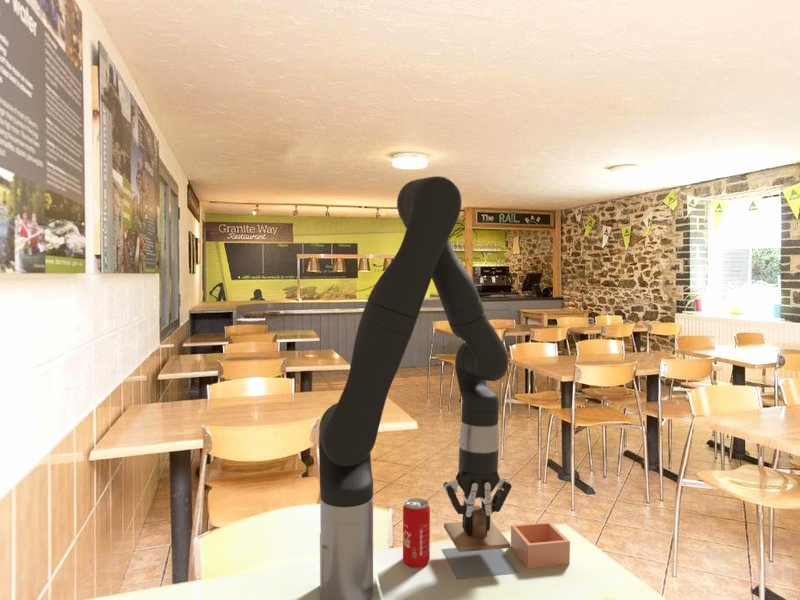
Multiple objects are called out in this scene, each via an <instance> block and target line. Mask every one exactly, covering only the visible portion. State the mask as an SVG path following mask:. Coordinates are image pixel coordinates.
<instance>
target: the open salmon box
mask: <svg viewBox="0 0 800 600" xmlns="http://www.w3.org/2000/svg"><path fill="white" fill-rule="evenodd" d="M510 548H511V549H512V550H513V551H514V552H515V554H516V555H517V556H518V557H519V559H520V560H521V561H522V563H523V564H524V565H525V567H526V568H527V569H534V568H535V569H536V568H545V567H547V568H548V567H555V566H565V565H570V563H571V562H570V559H571V558H570V557H571V556H570V555H571V541H570V539H568V538H567V537H566V536H565V535H564V534H563V532H561V531H560V530H559V529H558V528H557V527H556V526H555V525H554V524H553V523H552V522H551V521H542V522H532V523H519V524H511V525H510Z"/></svg>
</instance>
